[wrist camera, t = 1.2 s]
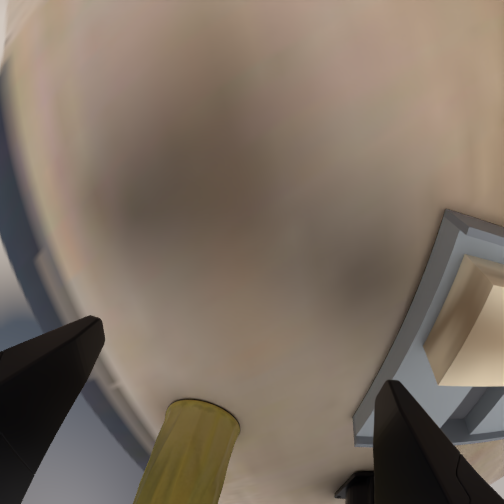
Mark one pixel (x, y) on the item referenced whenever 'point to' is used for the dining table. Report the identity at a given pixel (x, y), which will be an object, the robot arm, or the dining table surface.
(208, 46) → the dining table surface
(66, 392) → the robot arm
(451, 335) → the beech block
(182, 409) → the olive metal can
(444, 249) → the box
